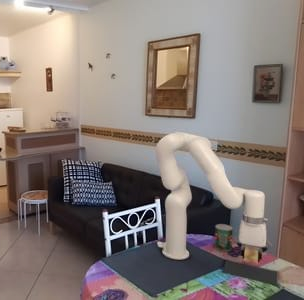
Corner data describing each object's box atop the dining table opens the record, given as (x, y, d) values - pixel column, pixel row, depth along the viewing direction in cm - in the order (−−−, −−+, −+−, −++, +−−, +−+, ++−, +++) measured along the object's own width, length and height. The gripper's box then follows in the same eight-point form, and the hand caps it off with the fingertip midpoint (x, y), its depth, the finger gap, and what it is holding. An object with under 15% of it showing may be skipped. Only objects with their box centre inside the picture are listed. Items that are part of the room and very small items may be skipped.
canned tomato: (234, 250, 159) (235, 230, 157) (218, 251, 159) (219, 230, 157) (226, 243, 167) (227, 224, 165) (211, 244, 167) (212, 224, 165)
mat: (222, 272, 140) (222, 271, 140) (226, 260, 150) (226, 260, 150) (277, 285, 129) (277, 284, 129) (276, 271, 139) (277, 271, 139)
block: (244, 260, 138) (244, 249, 137) (245, 256, 142) (245, 245, 141) (257, 263, 135) (258, 252, 134) (258, 258, 139) (258, 247, 138)
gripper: (277, 219, 134) (274, 260, 137) (231, 213, 143) (230, 251, 146) (277, 225, 128) (274, 267, 131) (229, 218, 137) (228, 258, 140)
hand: (251, 258), depth 138 cm, fingers closed on block, 5 cm apart
